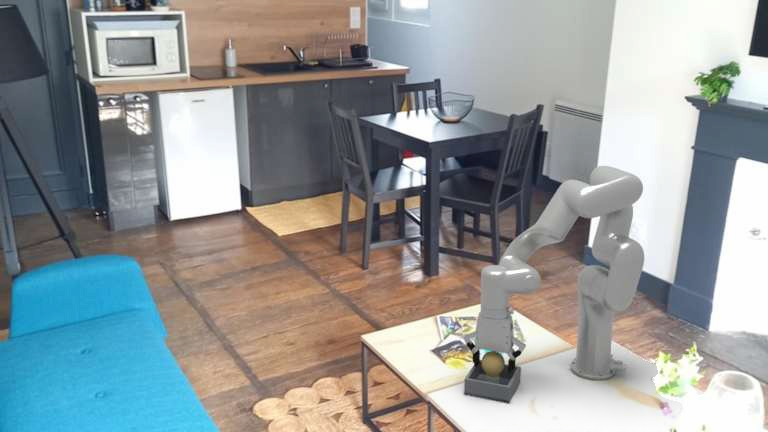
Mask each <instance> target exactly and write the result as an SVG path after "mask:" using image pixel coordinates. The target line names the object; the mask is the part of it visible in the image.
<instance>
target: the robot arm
mask: <svg viewBox="0 0 768 432" xmlns="http://www.w3.org/2000/svg"><path fill="white" fill-rule="evenodd" d="M589 182H590V183H589V184H588V183H587V182H584V181H580V180H577V179H568V180H565V181H564V182H562V183H561V184H560V185H559V187H558V188H557V190H556V192H555V193H554V194H553V196H552V198H551V199H550V201H549V202H548V204H547V206H546V207H545V208H544V211H542V213H541V215H540V216H539V218H538V219H537V221H536V223H534V224H533V225H532V226H530V227H528V228H527V229H526V230H525V231H523V232H522V233H521V234H520V235H518V236H516V237H515V238H514V239H513V240H512V241H511V243H510V244H509V246H508V247H507V248H506V250H505V251H504V253H503V255H502V256H501V258H500V260H499V262H498V264H491V265H490V264H489V265H487V266H485V267H483V268H482V270H481V272H480V311H479V312H478V316H477V319H476V323H475V331H472V332H470V333H467V334H464V336H463V337H462V339H463V340H464V342H465V344H466V347H467V348H468V349H469V350H470V353H471V354H472V363H473V366H474V367H477V366H478V365H479V363H480V360H481V351H480V350H485V351H489V352H490V351H496V352H499V353H501V354H503V353H504V354H506V355H507V357H508V361H507V362H508V372H509V373H511V372H512V370H513V369H515V366H516V359H517V358H519V356H521V354H522V353H523V352H524V350H525V349H526V346H527V345H526V343H524V342H522V341H521V340H519V339H518V338H516V337H515V332H514V331H515V330H514V329H515V328H514V321H513V317H512V316H513V315H514V313H515V310H514V308H511V307H510V294H511V295H513V294H515V295H516V294H517V295H528V294H532V293H534V292H535V291H537V290H538V288H540V286H541V281H542V279H541V278H542V277H541V275H540V273H539V272H538V271H537V269H536V268H533V267H532V266H530V265H529V264H528V263H527V261H528V260H529V259H530V257H531V256H532V254H533V253H535V252H536V251H537V250H539V249H540V248H542V247H545V246H547V245H552V244H558V243H561V242H562V241H564V240H565V239H566V237H567V235H568V234H569V231H570V230H571V228H573V226H574V224H575V222H576V221H577V220H578V219H579V217H582V218H584V219H593V218H594V219H595V218H598V217H599V221H598V224H597V228H596V229H595V230H596V231H595V234H594V238H593V241H592V247H591V254H592V256H593V258H594V259H595V260H597V261H598V262H600V263H601V264H603V265H606V266H607V267H609V269H607V268H606V267H603V266H601V265H598V264H597V265H596V264H590V265H587V266H585V267H584V268H583V269H582V270H580V272H579V274H578V276H577V280H576V281H577V282H576V290H577V297H578V298H577V299H578V319H577V322H578V323H577V336H576V337H577V340H576V354H575V355H576V356H575V357H576V358H575V359H573V360H571V361H570V365H569V367H570V371H571V372H572V373H573V374H575V375H576V376H578V377H580V378H583V379H588V380H595V381H599V380H600V381H601V380H607V379H610V378H612V377H613V376H615V374H616V371H620V372H623V373H625V372H626V371H627V365H626V364H624V363H623V360H615V359H614V358H613V354H612V340H613V339H612V338H613V326H614V313H619V312H620V313H621V312H622V311H625V310H626V309H627V308H628V307H629V306H630V304H631V303H632V301H633V300H634V298H635V297H634V296H635V294H636V291H637V288H638V285H639V281H640V278H641V275H642V271H643V267H644V266H645V265H644V264H645V251H644V249H643V246H642V244H640V243H639V242H638V241H637V240H635V239H633V238H631V237H630V231H631V227H632V223H633V217H634V207H633V204H635V203H636V202H638V200H640V198H641V196H642V195H643V191H644V185H643V182H642V180H641V179H640V177H638V176H637V175H635V174H633V173H632V172H631V173H630V172H628V171H625V170H621V169H619V168H616V167H613V166H609V165H599V166H597V167H595V168H594V169H593V170H592V172H591V173H590V176H589ZM471 339H474V342H473V341H472V340H471ZM514 346H516V347H518V348H517V350H515V349H514V348H513V347H514Z"/></svg>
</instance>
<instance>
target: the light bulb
mask: <svg viewBox="0 0 768 432" xmlns="http://www.w3.org/2000/svg"><path fill="white" fill-rule="evenodd" d="M481 360H482V361H481V364H482V367H483V369H484V371H485V372H486V373H487V374H486V382H491V383H496V384H499V381H500V379H499V378H500V376H499V374H500V373H501V371H502V370H503V368H504V366H505V364H506V363H505V362H506V361H505V358H504V356H503V355H502V353H501V352H496V351H490V350H489V351H486V352H485V354H483V356H482V358H481Z"/></svg>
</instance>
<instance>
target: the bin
mask: <svg viewBox="0 0 768 432" xmlns="http://www.w3.org/2000/svg"><path fill="white" fill-rule="evenodd" d="M481 361H482V359H480V363H479V365H478V366H477V367H474V365H473V366H472V367H471V368H470V369H469V372H468V373H467V374H466V375H465V378H464V381H463V383H464V386H463V389H464V391H463V395H464V394H465V395H464V396H468V395H469V397H475V398H478V397H479V398H478V399H483V398H484V400H489V401H495V402H499V403H505V404H510V403H511V401H512V400H513V398H514V395H515V394H516V391H517V389H518V387H519V386H520V384H521V376H522V372H521V371H522V367H521V366H518V365H515V369H513V370H512V372H511V373H509V372H508V364H507V363H505V366H504V368H503V370H502V371H501V373H500V374H499V376H500V378H499V379H500V381H499V384H496V383H491V382H486V374H487V373H486V372H485V371H484V369H483V367H482V364H481Z"/></svg>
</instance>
